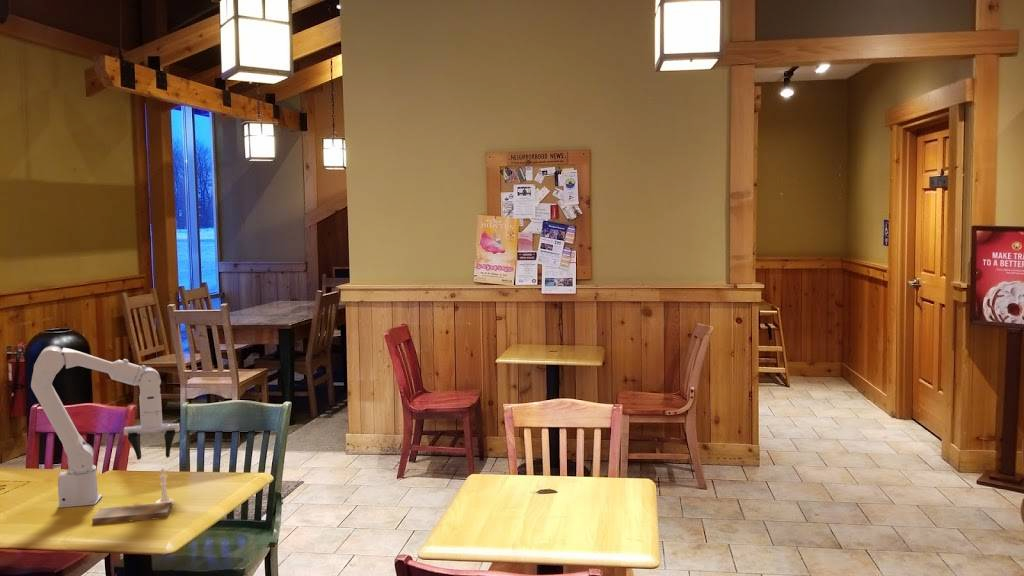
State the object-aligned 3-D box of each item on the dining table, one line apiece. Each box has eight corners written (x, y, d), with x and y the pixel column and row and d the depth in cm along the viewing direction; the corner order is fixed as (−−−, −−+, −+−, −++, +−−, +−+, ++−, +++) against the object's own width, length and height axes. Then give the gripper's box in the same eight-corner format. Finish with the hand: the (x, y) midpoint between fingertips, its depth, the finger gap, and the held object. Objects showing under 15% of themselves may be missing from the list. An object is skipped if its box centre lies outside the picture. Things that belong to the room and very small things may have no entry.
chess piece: (171, 506, 235) (168, 470, 234) (152, 507, 234) (150, 471, 233) (176, 500, 239) (174, 465, 239) (158, 501, 239) (156, 466, 238)
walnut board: (92, 524, 222) (92, 518, 222) (100, 513, 230) (99, 508, 230) (166, 517, 226) (166, 511, 226) (172, 507, 234) (171, 501, 233)
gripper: (120, 415, 240) (123, 463, 241) (175, 412, 243) (178, 459, 244) (125, 410, 247) (128, 456, 248) (179, 406, 250) (182, 452, 251)
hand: (153, 457), depth 247 cm, fingers open, 7 cm apart
